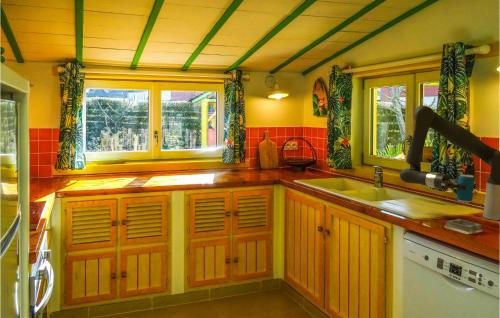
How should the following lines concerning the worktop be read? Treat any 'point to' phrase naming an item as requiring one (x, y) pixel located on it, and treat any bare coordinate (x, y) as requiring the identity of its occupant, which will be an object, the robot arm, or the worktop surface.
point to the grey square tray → (463, 226)
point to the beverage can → (468, 193)
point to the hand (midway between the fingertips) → (470, 187)
